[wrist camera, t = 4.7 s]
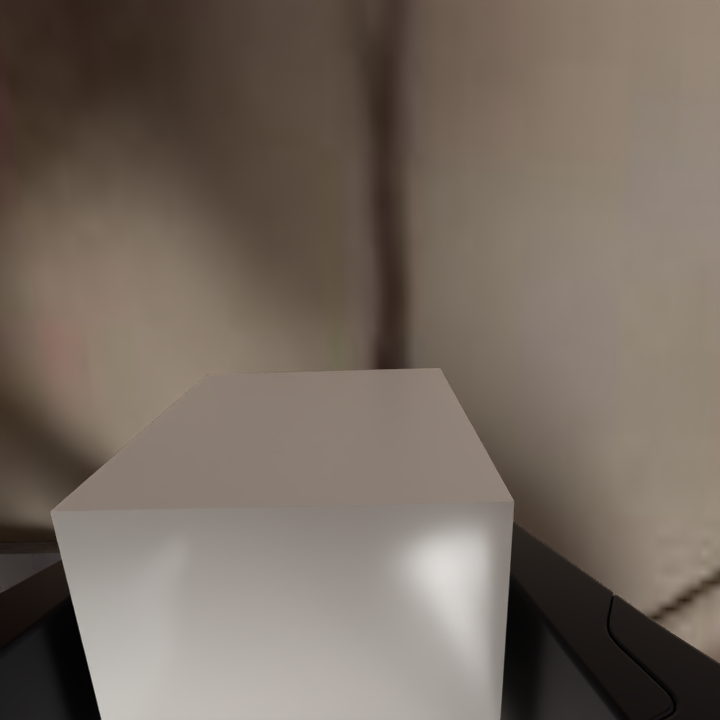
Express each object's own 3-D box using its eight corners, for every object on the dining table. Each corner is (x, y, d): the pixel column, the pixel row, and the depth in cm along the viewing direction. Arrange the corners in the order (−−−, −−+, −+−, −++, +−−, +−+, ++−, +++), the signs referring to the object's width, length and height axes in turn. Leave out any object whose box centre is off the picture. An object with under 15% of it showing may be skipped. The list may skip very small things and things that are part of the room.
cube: (439, 367, 10) (514, 501, 5) (437, 565, 11) (493, 826, 6) (207, 374, 10) (49, 512, 5) (232, 569, 11) (128, 828, 6)
